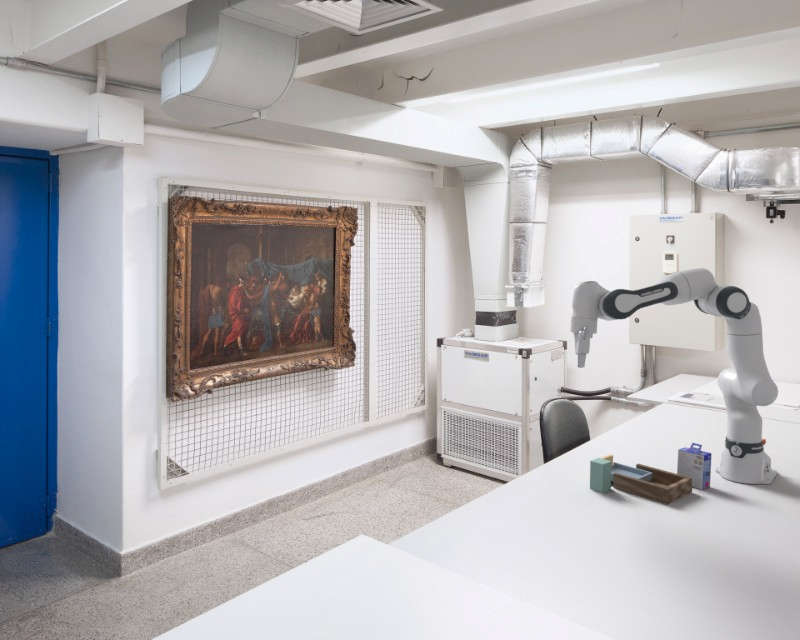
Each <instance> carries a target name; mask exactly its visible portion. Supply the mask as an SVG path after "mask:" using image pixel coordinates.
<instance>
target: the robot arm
mask: <svg viewBox="0 0 800 640" xmlns="http://www.w3.org/2000/svg"><path fill="white" fill-rule="evenodd" d="M572 294H573V296H572V302H571V306H572V314H571V316H570V318H571V319H570V333H573V337H574V352H575V355H577V368H579V369H580V368H581V369H583V368H585V366H586V361H587V360H586V359H587V355H589V353H590V349H591V348H590V347H591V346H590V345H591V339H593V337H594V334H597V333H598V321H599V320H598V319H600V320H603V321H607V322H611V321H616V320H626V319H628V318H630V317H632V315H634V314H635V313H636V312H638V310H640V309H643V308H647V307H650V306H654V305H657V304H663V305H665V306H676V305H677V306H678V305H682V304H686V303H689V302H692V301H693V302H694V305H695V307H696V308H697V309H698V310H699V311H700V312H702V313H704V314H706V315H707V314H708V315H711V316H714V317H723V318H724V319H725V321H726V337H727V338H726V342H727V343H726V344H727V356H728V357H729V359H730V360H731V362H732V364H733V367H729V368H727V367H726V368H724V369H723V370H721V371H720V373H719V374H718V375H717V376H718V377H717V386H718V388H719V389H720V391H721V394H722V396H723V400H724V401H723V402H724V405H725V409H726V417H727V421H726V422H727V423H726V425H727V427H726V429H727V430H726V437H725V441H724V446H725V448H723V449H722V450H721V453H720V457H719V458H720V461H719V466H717V467H715V472H717V473H718V474H720V476H721V477H722V478H724V479H726V480H728V481H732V482H736V483H740V484H751V485H753V484H755V485H756V484H757V485H758V484H763V485H771V484H772V482H773V481H774V480H775V478H776V477H777V476H778V474H779V471H778V470H777V469H775V468H772V459H771V458H772V457H770V456H769V455H768V454H767V452H766V451H764V450H765V448H764V446H765V445H766V443H767V440H766V438H762V437H763V418H762V415H761V414H760V413H759V409H758V408H757V407H766V406H767V407H768V406H770V405H771V404H773V403H774V402H775V401H776V400H777V399H778V395H779V389H778V385H777V384H776V383H775V381H774V380H773V378H772V377H771V375H770V372H769V369H768V365H767V363H766V359H765V355H764V343H763V340H764V339H763V324H762V318H761V314H760V309H759V306H757V304H755V303H753V302H751V301H750V299H749V295H748V294H747V293H746V291H745V290H743V289H742V288H740V287H737V286H734V285H727V284H717V283H716V280H715V277H714V275H713V273H712V272H711V271H710V270H709V269H707V268H691V269H685V270H681V271H676V272H674V273H673V272H672V273H670V274H667V275H666V276H663V277H661V278H659V279H658V280H657V281H656V283H655V284H653V285H650V286H647V287H642V288H640V289H634V290H631V289H625V288H617V289H614V290H612V291H610V290H608V289H606V288H605V287H603V286H602V285H600V284H599V283H598V281H595V280H594V281H593V280H589V281H583V282H579V283H578V284H576V286H575V287H574V289H573V293H572Z"/></svg>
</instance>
